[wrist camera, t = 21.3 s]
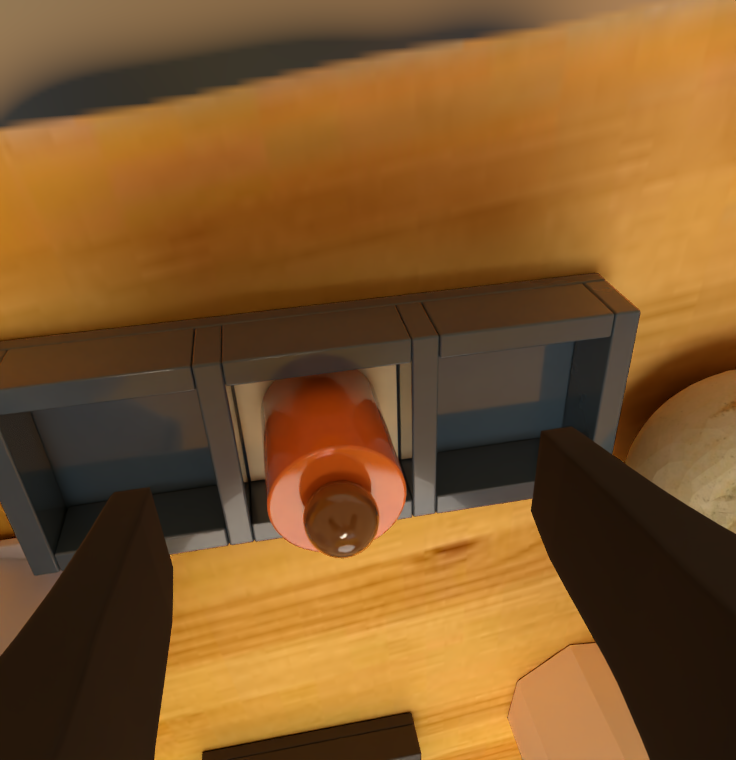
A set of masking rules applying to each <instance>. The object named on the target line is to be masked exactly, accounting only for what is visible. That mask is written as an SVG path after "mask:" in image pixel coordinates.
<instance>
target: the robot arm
mask: <svg viewBox="0 0 736 760" xmlns="http://www.w3.org/2000/svg"><path fill="white" fill-rule="evenodd" d="M531 512H532V515H533V517H534V520H535V523H536V525H537V528H538V531H539V533H540V536H541V538H542V541H543V543H544V546H545V548H546V551H547V553H548V556H549V558H550V560H551V562H552V564H553V566H554V567H555V569H556V571H557V573H558V575H559V577H560V579H561V580H562V582H563V584H564V586H565V588H566V590H567V591H568V593H569V595H570V597H571V599H572V600H573V602H574V604H575V606H576V608H577V609H578V611H579V613H580V615H581V617H582V618H583V620H584V622H585V624H586V626H587V627H588V629H589V631H590V633H591V635H592V636H593V638H594V640H595V642H596V644H597V645H598V647H599V649H600V651H601V653H602V654H603V656H604V658H605V660H606V662H607V664H608V666H609V668H610V670H611V672H612V674H613V676H614V678H615V680H616V682H617V684H618V686H619V688H620V691H621V693H622V695H623V697H624V700H625V702H626V704H627V707H628V709H629V711H630V714H631V716H632V718H633V721H634V723H635V725H636V728H637V730H638V732H639V735H640V737H641V739H642V742H643V744H644V747H645V749H646V752H647V754H648V757H649V759H650V760H736V534H735V533H734V532H732V531H730V530H728V529H726V528H725V527H723V526H721V525H719V524H718V523H716V522H714V521H713V520H711V519H709V518H708V517H706V516H704V515H703V514H701V513H700V512H698V511H696V510H695V509H693V508H691V507H690V506H688V505H686V504H685V503H683V502H682V501H680V500H678V499H677V498H675V497H674V496H672V495H671V494H669V493H668V492H666V491H665V490H663V489H662V488H660V487H658V486H657V485H656V484H654V483H653V482H651V481H650V480H648V479H647V478H645V477H644V476H642V475H641V474H639V473H638V472H636V471H635V470H634V469H632V468H631V467H629V466H628V465H626V464H625V463H624V462H622V461H621V460H619V459H618V458H616V457H615V456H614V455H612V454H611V453H609V452H608V451H607V450H605V449H604V448H602V447H601V446H600V445H598V444H597V443H595V442H594V441H592V440H591V439H590V438H588V437H587V436H585V435H584V434H582V433H581V432H579V431H578V430H576V429H575V428H573V427H572V426H571V427H564V428H558V429H551V430H544V431H541V434H540V442H539V450H538V459H537V467H536V475H535V483H534V491H533V499H532V507H531ZM172 612H173V566H172V562H171V559H170V555H169V552H168V548H167V545H166V541H165V538H164V534H163V531H162V527H161V524H160V520H159V517H158V514H157V510H156V507H155V503H154V500H153V496H152V493H151V489H150V487H146V488H140V489H133V490H126V491H119V492H114V493H113V494H112V495H111V497H110V498H109V499H108V501H107V503H106V504H105V506H104V507H103V509H102V511H101V512H100V514H99V516H98V517H97V519H96V521H95V522H94V524H93V526H92V527H91V529H90V531H89V532H88V534H87V535H86V537H85V539H84V540H83V542H82V543H81V545H80V546H79V548H78V550H77V551H76V553H75V554H74V556H73V557H72V559H71V560H70V562H69V563H68V565H67V566H66V568H65V569H64V571H61V570H60V572H58V573H52V574H45V575H39V576H34V575H33V573H32V570H31V568H30V566H29V564H28V562H27V559H26V557H25V555H24V553H23V551H22V548H21V546H20V544H19V542H18V540H17V538H13V539H6V540H0V760H154V755H155V745H156V737H157V730H158V723H159V716H160V709H161V701H162V694H163V687H164V680H165V673H166V665H167V658H168V651H169V643H170V636H171V628H172Z"/></svg>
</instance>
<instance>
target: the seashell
mask: <svg viewBox="0 0 736 760" xmlns="http://www.w3.org/2000/svg"><path fill="white" fill-rule="evenodd" d="M625 464H626V465H628V466H629V467H631V468H632V469H634V470H635V471H636V472H638V473H639V474H641V475H642V476H644V477H645V478H647V479H648V480H650V481H651V482H653V483H654V484H656V485H657V486H658V487H660V488H662V489H663V490H665V491H666V492H668V493H669V494H671V495H672V496H674V497H675V498H677V499H678V500H680V501H682V502H683V503H685V504H686V505H688V506H690V507H691V508H693V509H695V510H696V511H698V512H700V513H701V514H703V515H704V516H706V517H708V518H709V519H711V520H713V521H714V522H716V523H718V524H719V525H721V526H723V527H725V528H726V529H728V530H730V531H732V532H734V533H735V534H736V369H735V370H729V371H726V372H723V373H720V374H717V375H714V376H710V377H708V378H705V379H703V380H701V381H699V382H697V383H694V384H692V385H690V386H688V387H687V388H685V389H684V390H682V391H681V392H679V393H677V394H676V395H674V396H673V397H671V398H670V399H668V400H667V401H666V402H665V403H664V404H663V405H662V406H661V407H659V408H658V409H657V410H656V411H655V412H654V414H653V415H652V416H651V417H650V418H649V419H648V420H647V422H646V423H645V424H644V425H643V427H642V429H641V430H640V432H639V433H638V435H637V436H636V438H635V440H634V441H633V443H632V445H631V447H630V449H629V452H628V455H627V459H626V462H625Z"/></svg>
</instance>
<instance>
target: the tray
mask: <svg viewBox="0 0 736 760" xmlns="http://www.w3.org/2000/svg"><path fill="white" fill-rule="evenodd" d="M202 760H421V751H420V747H419V742H418V738H417V734H416V730H415V726H414V722H413V717H412V714H411V713H406V714H401V715H396V716H391V717H386V718H380V719H375V720H370V721H365V722H360V723H354V724H349V725H344V726H339V727H334V728H328V729H323V730H318V731H313V732H308V733H302V734H297V735H292V736H287V737H282V738H276V739H271V740H266V741H261V742H256V743H250V744H245V745H240V746H235V747H230V748H224V749H219V750H214V751H209V752H204V753H203V754H202Z"/></svg>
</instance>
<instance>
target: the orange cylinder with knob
mask: <svg viewBox="0 0 736 760" xmlns="http://www.w3.org/2000/svg"><path fill="white" fill-rule="evenodd" d="M260 418H261V432H262V446H263V460H264V475H265V489H266V503H267V512H268V516H269V519H270V522H271V524H272V525H273V527H274V528H275V530H276V531H277V532H278V533H279V534H280V535H281V536H282V537H283V538H284V539H285V540H287V541H288V542H290V543H292V544H294V545H296V546H298V547H300V548H303V549H307V550H311V551H317V552H321V553H323V554H325V555H327V556H330V557H334V558H348V557H352V556H355V555H357V554H359V553H361V552H362V551H364V550H365V549H366V548H367V547H368V546H369V545H370V544H371V543H372V541H373V540H375V539H376V538H378V537H379V536H381V535H382V534H384V533H385V532H386V531H387V530H388V529H389V528H390V527H391V526H392V525H393V524H394V523H395V522H396V520H397V519H398V517H399V516H400V514H401V512H402V510H403V507H404V504H405V501H406V494H407V488H406V482H405V478H404V475H403V472H402V469H401V466H400V463H399V460H398V457H397V454H396V451H395V448H394V445H393V442H392V439H391V436H390V433H389V430H388V427H387V424H386V421H385V418H384V415H383V412H382V409H381V406H380V403H379V400H378V397H377V394H376V391H375V389H374V387H373V385H372V383H371V382H370V381H369V379H368V378H367V377H366V376H365V375H364V374H363V373H361V372H360V371H358V370H350V371H342V372H335V373H327V374H319V375H311V376H303V377H295V378H288V379H280V380H275V381H274V382H273V383H272V384H271V385H270V387H269V388H268V390H267V391H266V393H265V395H264V397H263V400H262V403H261V409H260Z"/></svg>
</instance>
